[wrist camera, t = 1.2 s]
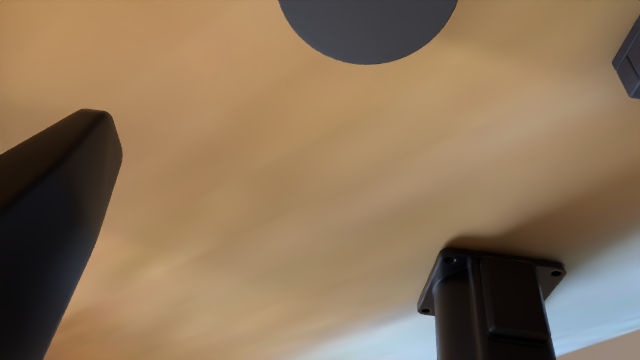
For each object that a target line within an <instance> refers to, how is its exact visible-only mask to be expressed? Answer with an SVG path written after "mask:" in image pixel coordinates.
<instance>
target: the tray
mask: <svg viewBox="0 0 640 360" xmlns="http://www.w3.org/2000/svg"><path fill="white" fill-rule="evenodd" d="M612 65H613V67H614V69H615V70H616V71H617V74H618V76H619V78H620V80H621V82H622V84H623V86H624V88H625V90H626V92H627V94H628V96H629V97H631V98H637V99H640V15H639V17H638V19H637V20H636V22H635V24H634V25H633V27H632V29H631V31H630V32H629V34H628V36H627V37H626V39H625V41H624V42H623V44H622V46H621V48H620V49H619V51H618V53H617V54H616V56H615V58H614V59H613V61H612Z"/></svg>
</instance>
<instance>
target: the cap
mask: <svg viewBox="0 0 640 360" xmlns="http://www.w3.org/2000/svg"><path fill="white" fill-rule="evenodd" d="M278 1H279V4H280V7H281V9H282V11H283V13H284V15H285V17H286V19H287V21H288V22H289V24H290V25H291V27H292V28H293V30H294V31H295V32H296V33H297V34H298V35H299V37H301V38H302V39H303V40H304V41H305V42H306V43H307V44H308V45H310V46H311V47H313V48H314V49H315V50H317V51H319V52H320V53H322V54H324V55H326V56H328V57H331V58H333V59H336V60H339V61H343V62H347V63H352V64H363V65H371V64H381V63H387V62H391V61H395V60H398V59H401V58H403V57H406V56H408V55H410V54H412V53H414V52H415V51H417V50H419V49H420V48H422V47H423V46H425V45H426V44H427V43H428V42H430V41H431V40H432V39H433V38H434V37H435V36H436V35H437V34H438V33H439V32H440V31H441V29H442V28H443V27H444V26H445V24H446V23H447V21H448V20H449V18H450V17H451V15H452V13H453V11H454V9H455V7H456V4H457V1H458V0H278Z"/></svg>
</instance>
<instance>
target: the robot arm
mask: <svg viewBox="0 0 640 360" xmlns="http://www.w3.org/2000/svg"><path fill="white" fill-rule="evenodd" d="M122 155H123V154H122V147H121V144H120V140H119V137H118V134H117V131H116V127H115V124H114V121H113V118H112V116H111V115H110V114H109V113H108V112H106V111H100V110H93V109H80V110H78V111H76V112H74V113H73V114H71V115H69V116H67V117H66V118H64V119H62V120H60V121H59V122H57V123H55V124H53V125H52V126H50V127H48V128H46V129H45V130H43V131H41V132H39V133H38V134H36V135H34V136H32V137H31V138H29V139H27V140H25V141H24V142H22V143H20V144H18V145H17V146H15V147H13V148H11V149H10V150H8V151H6V152H4V153H3V154H1V155H0V360H43V359H44V357H45V354H46V352H47V350H48V348H49V346H50V343H51V341H52V339H53V337H54V335H55V332H56V330H57V328H58V326H59V324H60V321H61V319H62V317H63V315H64V313H65V310H66V308H67V306H68V304H69V302H70V300H71V297H72V295H73V293H74V291H75V289H76V286H77V284H78V282H79V280H80V278H81V275H82V273H83V271H84V269H85V267H86V264H87V262H88V260H89V258H90V256H91V253H92V251H93V249H94V246H95V244H96V241H97V238H98V235H99V232H100V230H101V226H102V223H103V220H104V217H105V214H106V211H107V207H108V204H109V201H110V198H111V195H112V192H113V189H114V185H115V182H116V179H117V176H118V173H119V170H120V166H121V163H122ZM565 275H566V270H565V266H564V264H563V263H561V262H556V261H548V260H540V259H532V258H524V257H516V256H508V255H501V254H493V253H485V252H477V251H469V250H461V249H453V248H446V249H443V250H441V251H440V252H439V254H438V257H437V259H436V261H435V264H434V266H433V268H432V271H431V273H430V275H429V278H428V280H427V282H426V285H425V287H424V289H423V292H422V294H421V296H420V299H419V301H418V303H417V309H418V312H419V313H420V314H424V315H431V316H435V327H436V347H437V360H556V356H555V352H554V347H553V343H552V338H551V332H550V328H549V323H548V318H547V314H546V309H545V305H544V301H545V300H546V298H547V297H548V296H549V295H550V293H551V292H552V291H553V290H554V288H555V287H556V286H557V285H558V284H559V282H560V281H561V280H562V279H563V277H564V276H565Z"/></svg>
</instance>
